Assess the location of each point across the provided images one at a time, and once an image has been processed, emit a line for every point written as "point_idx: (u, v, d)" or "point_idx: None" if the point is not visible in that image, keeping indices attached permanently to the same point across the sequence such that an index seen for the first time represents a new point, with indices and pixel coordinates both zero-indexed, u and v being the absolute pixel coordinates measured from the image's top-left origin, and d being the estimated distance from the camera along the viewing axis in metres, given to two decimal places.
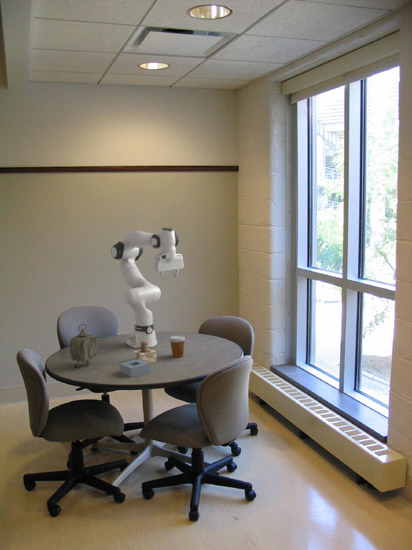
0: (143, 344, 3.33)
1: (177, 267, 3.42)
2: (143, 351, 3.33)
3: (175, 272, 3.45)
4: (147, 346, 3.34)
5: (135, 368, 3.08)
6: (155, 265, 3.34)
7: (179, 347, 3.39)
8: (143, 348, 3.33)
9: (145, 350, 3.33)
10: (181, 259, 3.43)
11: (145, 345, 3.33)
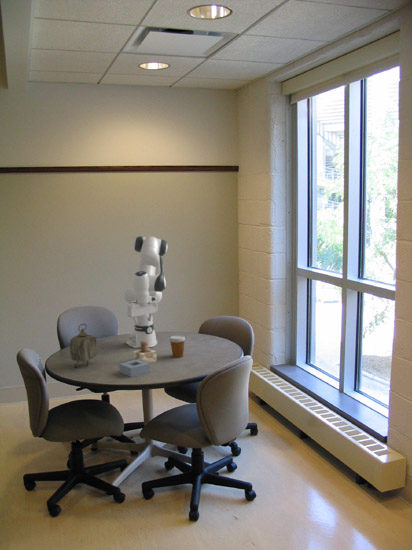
0: (143, 344, 3.33)
1: None
2: (143, 351, 3.33)
3: (136, 319, 3.28)
4: (147, 346, 3.34)
5: (135, 368, 3.08)
6: None
7: (179, 347, 3.39)
8: (143, 348, 3.33)
9: (145, 350, 3.33)
10: None
11: (145, 345, 3.33)
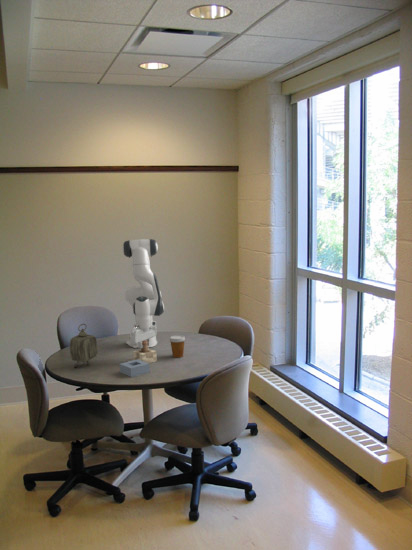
0: (143, 344, 3.33)
1: None
2: (143, 351, 3.33)
3: (141, 344, 3.31)
4: (147, 346, 3.34)
5: (135, 368, 3.08)
6: None
7: (179, 347, 3.39)
8: (143, 348, 3.33)
9: (145, 350, 3.33)
10: None
11: (145, 345, 3.33)
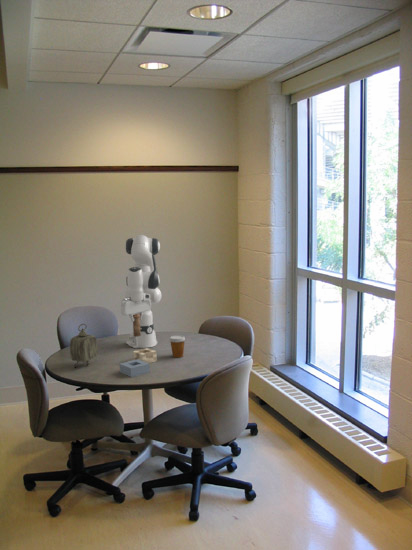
0: (135, 317, 3.16)
1: None
2: (135, 325, 3.16)
3: None
4: (139, 320, 3.17)
5: (135, 368, 3.08)
6: None
7: (179, 347, 3.39)
8: (135, 321, 3.16)
9: (137, 324, 3.16)
10: None
11: (137, 318, 3.16)
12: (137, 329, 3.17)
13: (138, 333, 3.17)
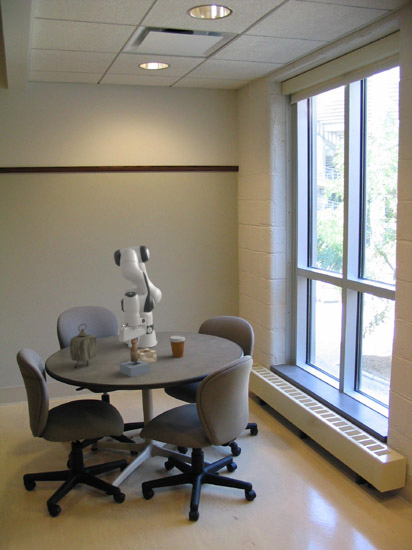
0: (132, 343, 3.11)
1: None
2: (132, 350, 3.12)
3: (130, 343, 3.10)
4: (136, 345, 3.13)
5: (135, 368, 3.08)
6: None
7: (179, 347, 3.39)
8: (132, 347, 3.11)
9: (134, 349, 3.12)
10: None
11: (134, 344, 3.11)
12: (135, 354, 3.12)
13: (136, 358, 3.13)
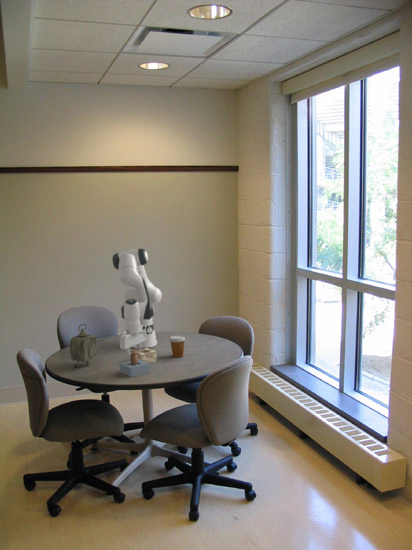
0: (133, 354, 3.12)
1: None
2: (133, 361, 3.13)
3: (129, 351, 3.09)
4: (137, 356, 3.14)
5: (135, 368, 3.08)
6: None
7: (179, 347, 3.39)
8: (133, 358, 3.13)
9: (135, 360, 3.13)
10: None
11: (135, 355, 3.13)
12: None
13: None
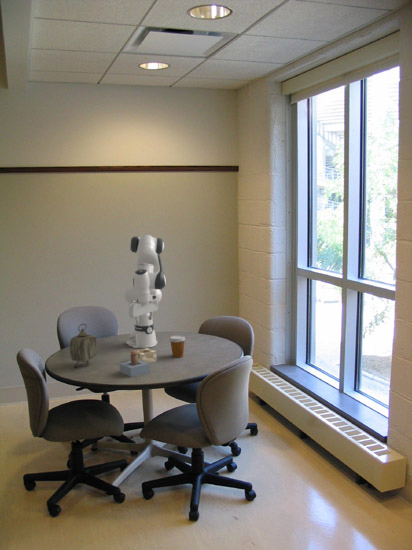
0: (133, 354, 3.12)
1: None
2: (133, 362, 3.13)
3: (138, 319, 3.21)
4: (137, 356, 3.14)
5: (135, 368, 3.08)
6: None
7: (179, 347, 3.39)
8: (133, 358, 3.12)
9: (135, 361, 3.13)
10: None
11: (135, 355, 3.12)
12: None
13: None
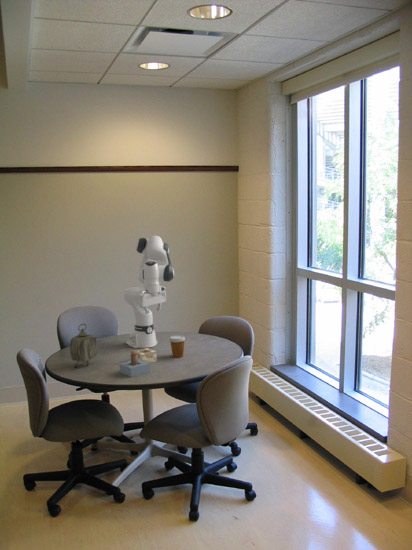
0: (133, 354, 3.12)
1: None
2: (133, 362, 3.13)
3: (147, 309, 3.29)
4: (137, 356, 3.14)
5: (135, 368, 3.08)
6: None
7: (179, 347, 3.39)
8: (133, 358, 3.12)
9: (135, 361, 3.13)
10: None
11: (135, 355, 3.12)
12: None
13: None
